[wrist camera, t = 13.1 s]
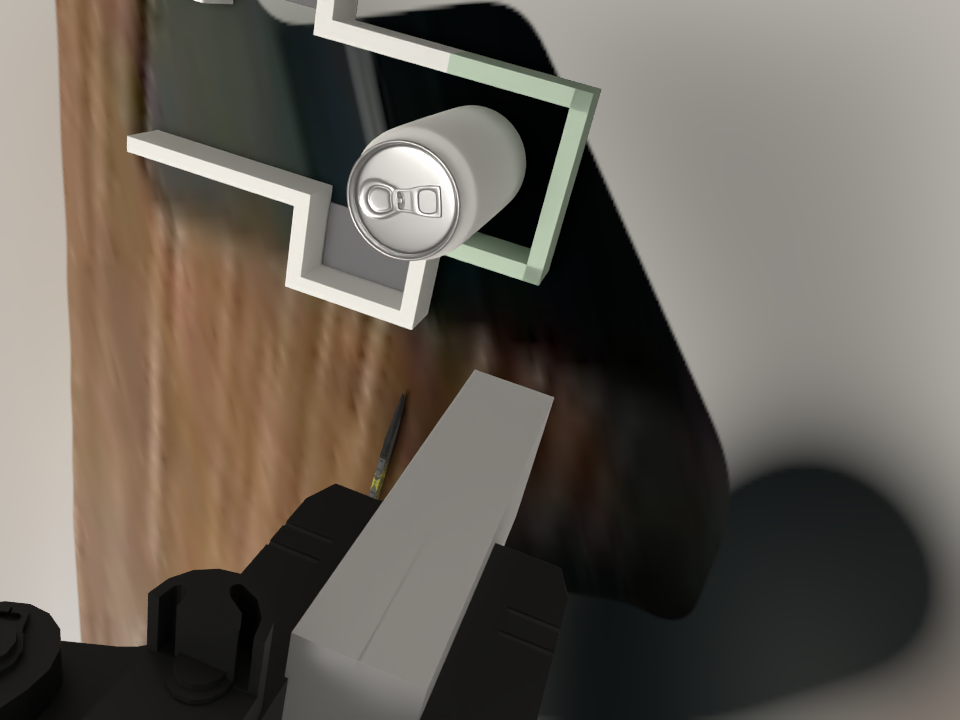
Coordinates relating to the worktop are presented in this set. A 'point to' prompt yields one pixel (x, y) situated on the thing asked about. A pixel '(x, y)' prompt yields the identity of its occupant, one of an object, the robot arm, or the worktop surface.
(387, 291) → the trap tray
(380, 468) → the knife
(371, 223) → the can
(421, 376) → the worktop surface
